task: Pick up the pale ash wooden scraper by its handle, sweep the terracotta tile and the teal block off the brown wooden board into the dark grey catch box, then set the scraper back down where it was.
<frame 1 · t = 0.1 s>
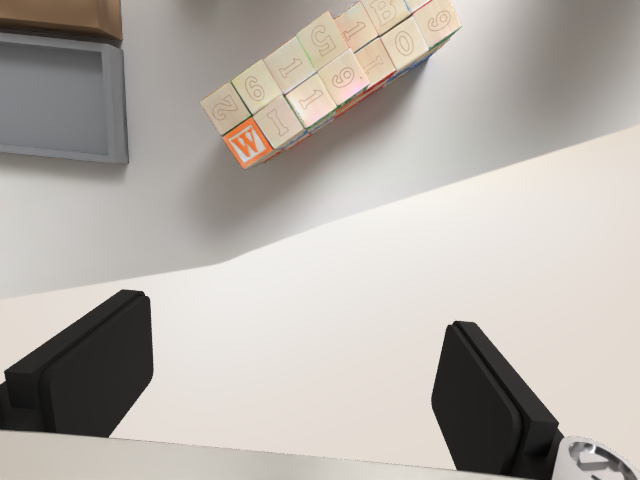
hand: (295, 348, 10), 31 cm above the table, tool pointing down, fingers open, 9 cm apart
catch box: (38, 99, 38), on the table
stack of blocks: (331, 87, 37), on the table
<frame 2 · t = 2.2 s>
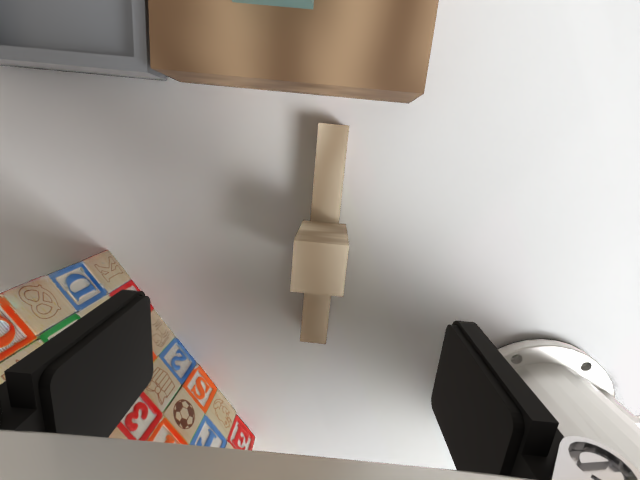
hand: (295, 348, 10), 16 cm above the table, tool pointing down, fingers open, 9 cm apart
stack of blocks: (162, 362, 30), on the table
scraper: (323, 234, 26), on the table
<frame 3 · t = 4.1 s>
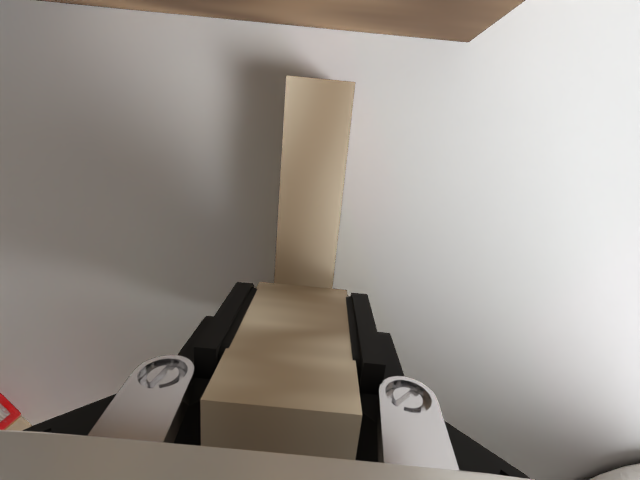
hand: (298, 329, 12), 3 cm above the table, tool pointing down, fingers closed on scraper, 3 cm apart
scraper: (304, 294, 14), on the table, touching gripper
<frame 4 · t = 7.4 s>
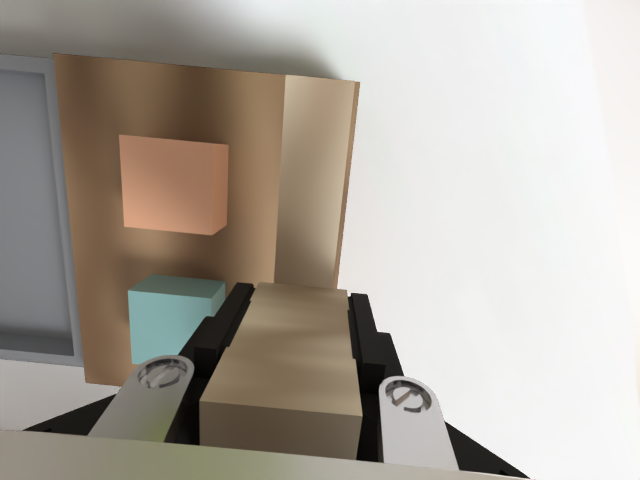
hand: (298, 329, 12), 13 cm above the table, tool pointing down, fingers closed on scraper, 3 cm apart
catch box: (15, 215, 24), on the table
brown wooden board: (225, 235, 24), on the table
teal block: (188, 311, 21), point 4 cm above the table, touching brown wooden board
scraper: (304, 294, 14), point 10 cm above the table, touching gripper
terracotta tile: (187, 182, 19), point 4 cm above the table, touching brown wooden board
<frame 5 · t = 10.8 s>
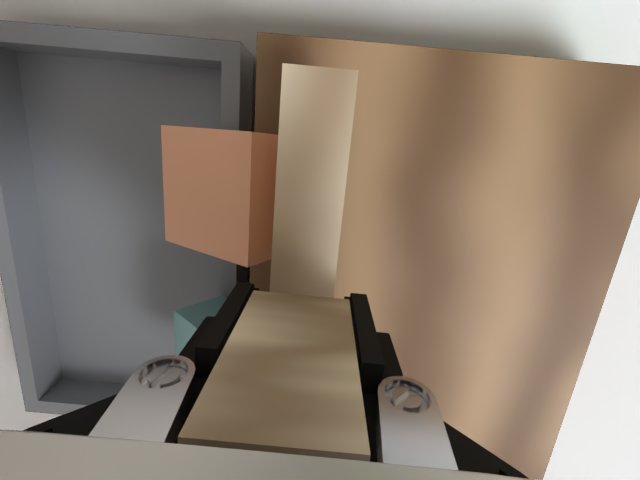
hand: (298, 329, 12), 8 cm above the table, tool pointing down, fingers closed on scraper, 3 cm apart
catch box: (142, 242, 19), on the table
brown wooden board: (405, 265, 19), on the table
teal block: (248, 354, 16), point 4 cm above the table, tilted 40°, touching brown wooden board
scraper: (303, 302, 13), point 6 cm above the table, touching gripper
terracotta tile: (250, 189, 14), point 4 cm above the table, tilted 30°, touching brown wooden board
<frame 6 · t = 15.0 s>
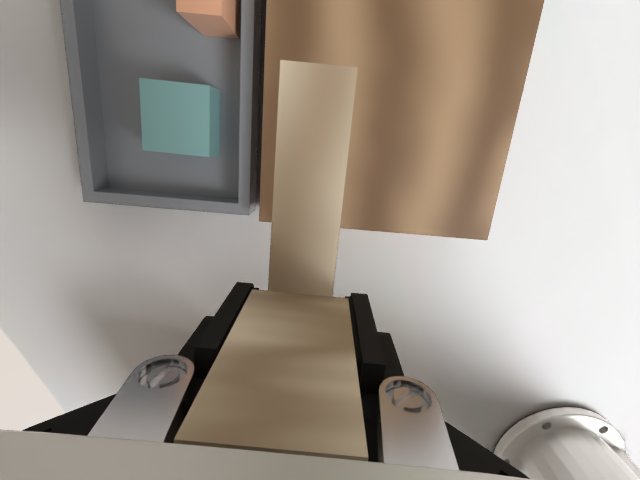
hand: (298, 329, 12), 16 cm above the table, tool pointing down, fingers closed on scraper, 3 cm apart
catch box: (175, 64, 24), on the table
brown wooden board: (383, 83, 24), on the table
teal block: (175, 118, 22), point 3 cm above the table, tilted 180°, touching catch box
scraper: (302, 301, 13), point 15 cm above the table, touching gripper
when the fingers open (4 cm above the table, at t = 18.5 s): scraper drops 3 cm, on the table.
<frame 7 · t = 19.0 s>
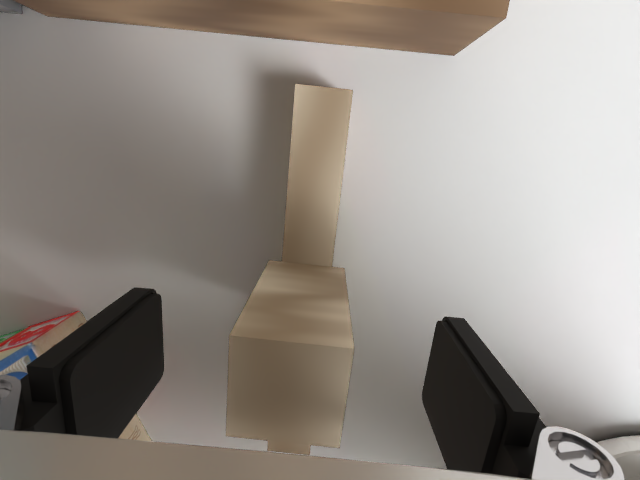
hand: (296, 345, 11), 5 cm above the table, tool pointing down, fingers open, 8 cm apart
stack of blocks: (125, 475, 20), on the table
scraper: (307, 275, 16), on the table
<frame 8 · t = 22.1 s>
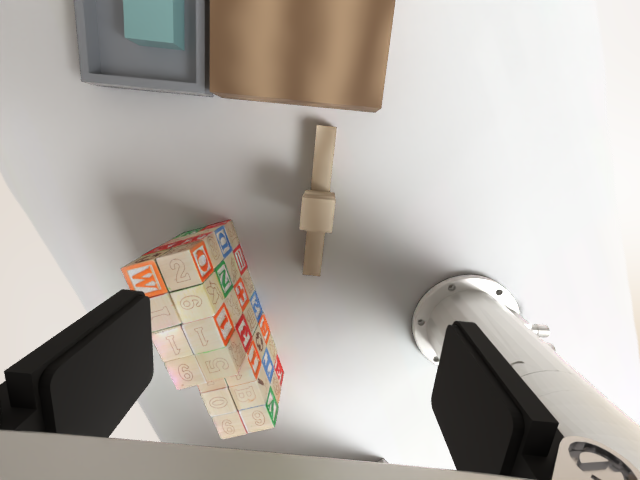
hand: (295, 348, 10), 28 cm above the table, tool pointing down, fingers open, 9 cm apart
stack of blocks: (236, 305, 42), on the table
teal block: (148, 12, 30), point 3 cm above the table, tilted 180°, touching catch box
scraper: (319, 201, 38), on the table
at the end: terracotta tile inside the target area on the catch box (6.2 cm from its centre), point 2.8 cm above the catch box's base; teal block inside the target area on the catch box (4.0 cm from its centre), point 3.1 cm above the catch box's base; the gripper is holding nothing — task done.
